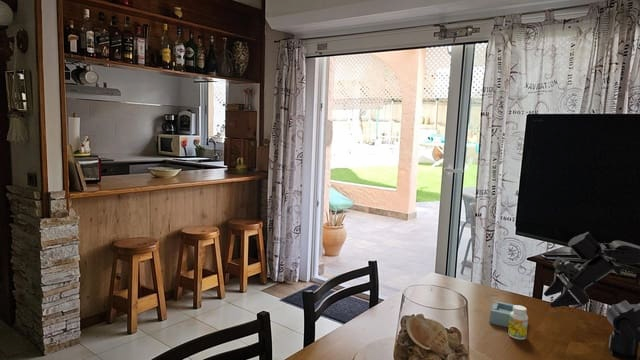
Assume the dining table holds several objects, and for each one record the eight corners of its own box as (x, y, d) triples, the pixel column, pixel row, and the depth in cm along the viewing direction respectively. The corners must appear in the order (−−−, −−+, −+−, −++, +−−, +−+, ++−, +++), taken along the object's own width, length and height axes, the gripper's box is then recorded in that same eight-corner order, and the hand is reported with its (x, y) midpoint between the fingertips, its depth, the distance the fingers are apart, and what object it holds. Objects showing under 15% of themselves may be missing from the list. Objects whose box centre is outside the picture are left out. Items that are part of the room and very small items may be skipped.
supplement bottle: (529, 338, 137) (532, 309, 136) (518, 341, 135) (521, 312, 134) (515, 330, 142) (518, 303, 141) (504, 333, 140) (507, 305, 139)
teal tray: (523, 319, 151) (525, 307, 151) (521, 330, 142) (522, 317, 142) (493, 312, 156) (494, 300, 155) (489, 322, 147) (490, 310, 147)
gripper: (565, 243, 140) (524, 271, 144) (581, 259, 122) (534, 290, 127) (590, 269, 139) (548, 297, 143) (609, 290, 121) (561, 320, 125)
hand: (547, 300), depth 135 cm, fingers open, 9 cm apart
